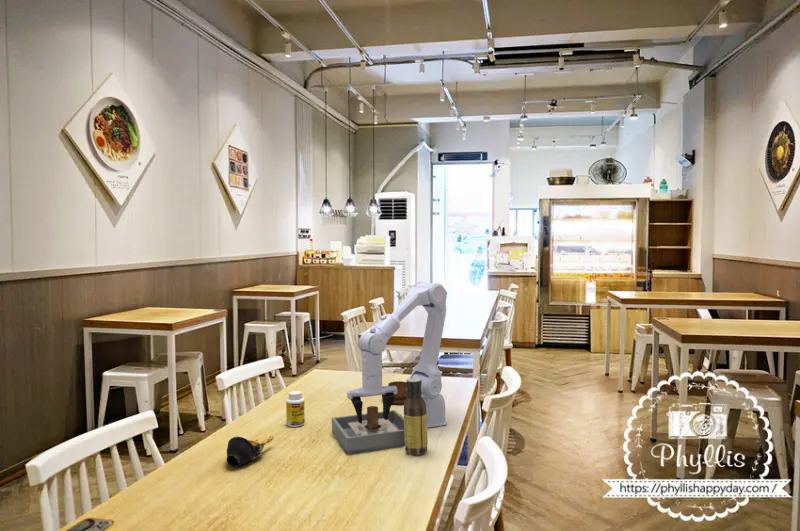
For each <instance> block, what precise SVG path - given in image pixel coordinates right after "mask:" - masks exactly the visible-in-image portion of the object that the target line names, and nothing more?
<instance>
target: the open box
mask: <svg viewBox="0 0 800 531" xmlns="http://www.w3.org/2000/svg"><path fill="white" fill-rule="evenodd" d="M380 418H383V411H378V419H380ZM364 420H367V413H362V421H364ZM388 420H389V421H390V422H391V423H392V424H393V425H394V426H395V427H396V428H397V429H398V430H397V431H390V432H383V433H375V434H368V435H361V436H354V437H352V436H351V435H350V434H349V432H348V431H347V423H348V422H356V421H358V418H357V414H352V415H343V416H338V417H337V416H335V417H331V434H332V435H333V436H334V438H335V440H336V441H337V442H338V444H339V446H340V447H341V448H342V450H343V451H344V453H345V454H346V456H352V455H357V454H364V453H371V452H377V451H378V452H379V451H383V450H390V449H397V448H405V437H404V416H402V414H400V413H399V412H398V411H397V410H395V409H393V410H392V409H390V411H389V414H388Z"/></svg>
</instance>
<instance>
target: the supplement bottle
mask: <svg viewBox="0 0 800 531" xmlns="http://www.w3.org/2000/svg"><path fill="white" fill-rule="evenodd" d="M285 401H286V404H285V405H286V407H285V408H286V409H285V410H286V411H285V412H286V426H288V427H290V428H299V427H301V426H303V425H304V424H305V420H306V419H305V398H304V396H303V392H302V391H300V390H293V391H289V392H288V398H287V399H286V400H285Z"/></svg>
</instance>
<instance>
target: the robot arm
mask: <svg viewBox="0 0 800 531" xmlns="http://www.w3.org/2000/svg"><path fill="white" fill-rule="evenodd" d="M447 298H448V292H447V290H446V288H445V287H444V285H443V284H441V283H434V282H433V283H432V282H423V281H417V282H415V283H414V284H413V285H412V287H410V288H409V291H408V294H407V295H406V296H405V297H404V298H403V299H402V301H401V302H400V303H399V304H398V305H397V307H396V308H395V309H394V310H393V311H392V313H385V314H383V315H382V316H380V320H378V322H376V324H375V325H374V326H371V327H370V329H369V331H365V332H364V333H362V334H361V336H360V337H359V339H358V341H357V342H356V343H357V347H358V349H359V350H360V355H361V373H362V374H361V377H362V379H361V380H362V383H361V385H362V387H360V388H356V389H352V390H347V391H346V397H347V399H348V400H350V401H351V403H352V405H353V408H354V410H355V413H356V414H355V415H357V418H358V422H359V423H362V414H363V404H364V402H363V401H362V398H366V397H374V396H381V399H382V400H381V401H382V412H383V418H384V419H385V420H388V414H389V411H391V407H392V405H393V404H394V403H393V401H394V400H395V396H394V394H397V387H396V386H388V385H383V354H382V353H383V352H384V351H385V349H386V347H387V343H388V341H389V339H390V338H392V337H393V335H394V334H395V333H397V331H398V330H399V329H400V328H401V322H402V320H404V319H405V318H406V317H407V316H408V315H409V314H410V313H411V312H412V311H413V310H414V309H416V307H418V306H421V307H423V308H424V310H425V311H426V313H427V317H426V318H427V319H426V324H425V330H424V335H423V340H422V341H423V342H422V345H421V352H420V356H419V362H418V363H417V364H416V365H415V366H413V368H412V372H411V374H410V376H409V378H420V379H421V382H422V384H421V393H422V398H423V400H424V401H425V403H426V412H427V429H429V428H433V427H442V426H446V425H447V423H446V403H445V402H446V401H445V398H444V396H443V395H442V394H441V392H442V389H443V387H442V386H443V383H442V375H443V374H442V372H441V370H440V369H439V368H438V359H439V354H440V348H441V343H442V337H443V332H444V326H445V322H446V316H447V305H446V304H447Z"/></svg>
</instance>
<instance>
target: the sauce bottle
mask: <svg viewBox="0 0 800 531" xmlns="http://www.w3.org/2000/svg"><path fill="white" fill-rule="evenodd" d="M405 382H406V383H407V391H408V393H407V395H408V396H407V399H406V401H405V403H403V418H404V437H405V447H404V449H405V450H404V451H405V452H406V454H408V455H411V456H415V457H416V456H417V457H418V456H422V455H425V454H427V452H428V441H429V440H428V428H427V412H426V403H425V401H424V400H423V398H422V393H421V384H422V382H421V379H420V378H410V377H409V378H407V379H406V381H405Z"/></svg>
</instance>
